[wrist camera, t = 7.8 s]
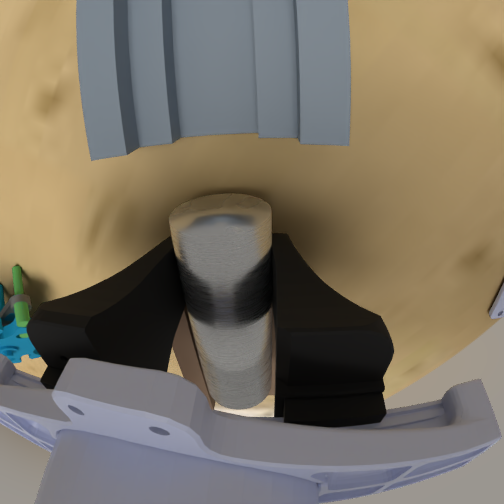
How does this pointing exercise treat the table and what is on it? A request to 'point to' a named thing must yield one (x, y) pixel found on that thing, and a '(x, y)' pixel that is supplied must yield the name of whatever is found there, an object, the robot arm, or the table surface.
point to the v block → (212, 71)
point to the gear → (15, 322)
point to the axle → (228, 292)
